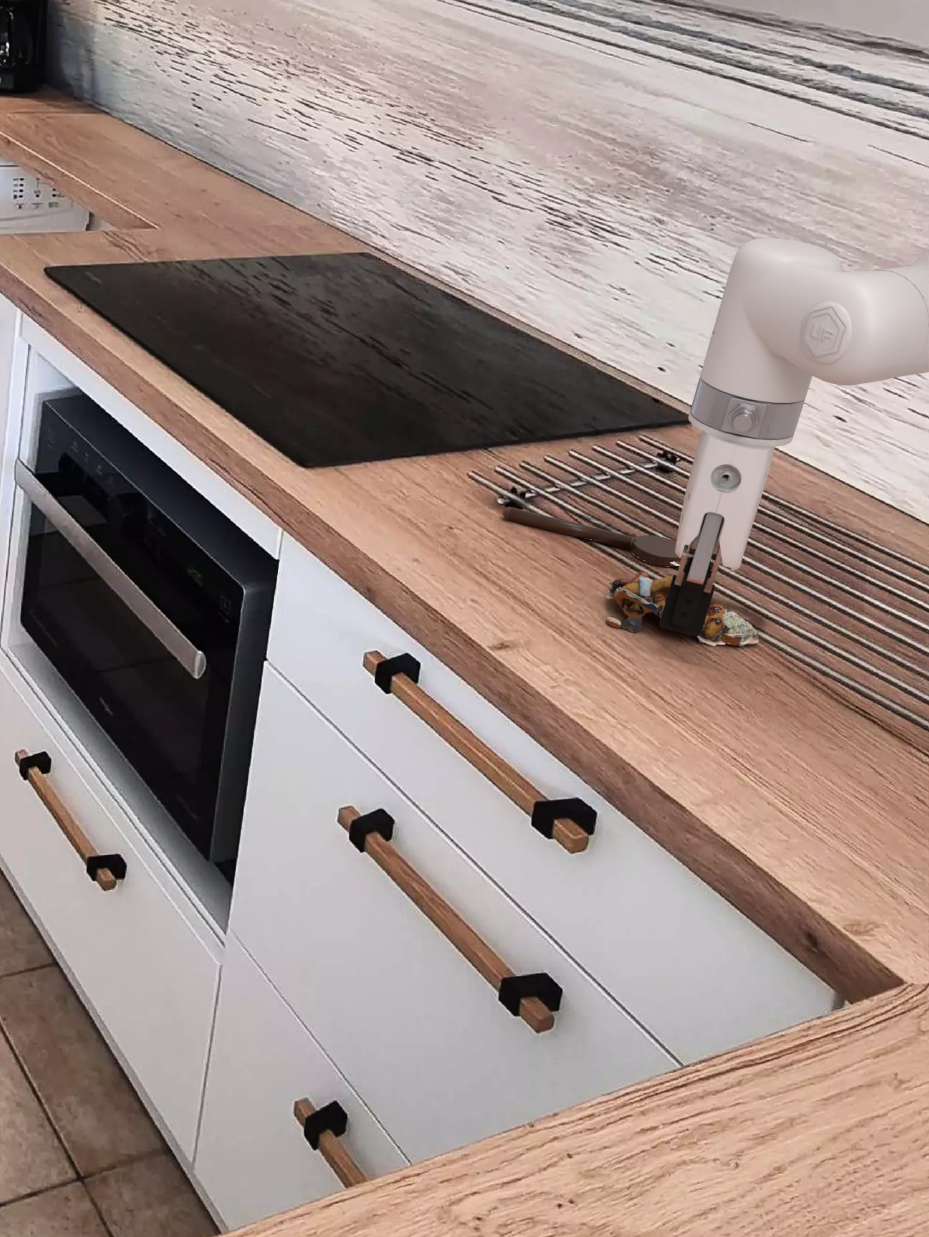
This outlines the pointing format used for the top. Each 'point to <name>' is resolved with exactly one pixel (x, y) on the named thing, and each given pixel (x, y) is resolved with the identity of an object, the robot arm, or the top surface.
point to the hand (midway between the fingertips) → (680, 627)
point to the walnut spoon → (602, 536)
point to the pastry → (651, 598)
